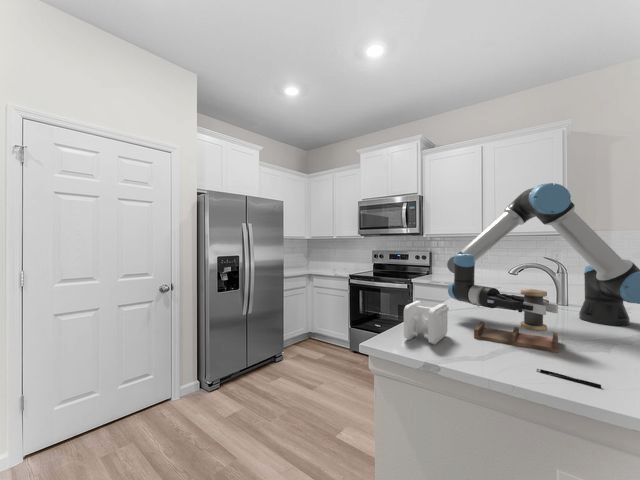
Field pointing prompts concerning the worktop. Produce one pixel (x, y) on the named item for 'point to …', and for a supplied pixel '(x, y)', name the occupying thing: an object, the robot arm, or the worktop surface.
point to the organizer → (425, 321)
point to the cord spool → (532, 319)
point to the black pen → (570, 378)
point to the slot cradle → (517, 338)
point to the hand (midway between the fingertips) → (551, 309)
